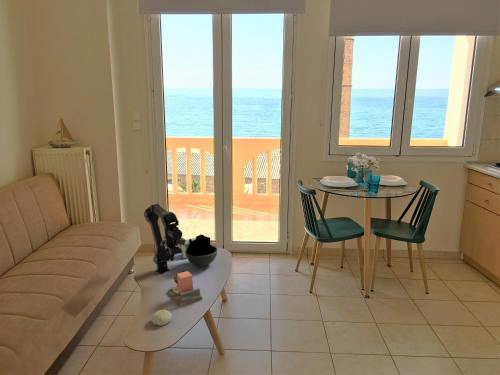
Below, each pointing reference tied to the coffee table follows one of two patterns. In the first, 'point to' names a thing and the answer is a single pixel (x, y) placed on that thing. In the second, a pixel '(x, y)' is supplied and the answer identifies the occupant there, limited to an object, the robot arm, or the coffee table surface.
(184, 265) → the coffee table surface
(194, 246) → the bowl of black rocks
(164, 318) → the sea urchin shell
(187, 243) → the digital clock
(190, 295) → the base
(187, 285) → the salmon pink rectangular block
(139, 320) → the coffee table surface
